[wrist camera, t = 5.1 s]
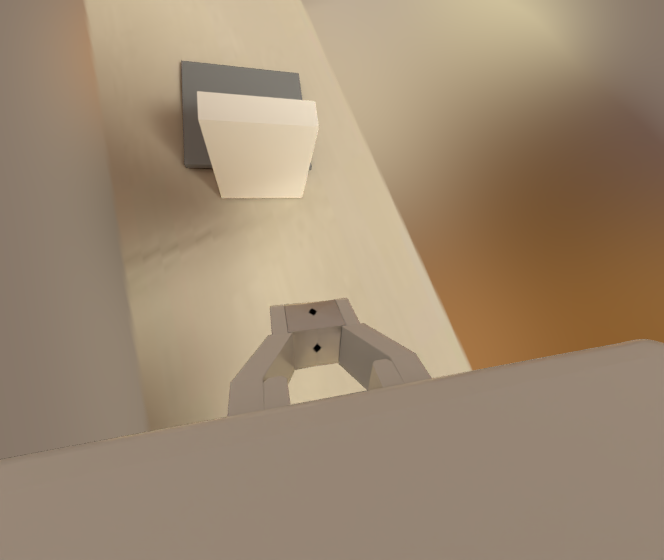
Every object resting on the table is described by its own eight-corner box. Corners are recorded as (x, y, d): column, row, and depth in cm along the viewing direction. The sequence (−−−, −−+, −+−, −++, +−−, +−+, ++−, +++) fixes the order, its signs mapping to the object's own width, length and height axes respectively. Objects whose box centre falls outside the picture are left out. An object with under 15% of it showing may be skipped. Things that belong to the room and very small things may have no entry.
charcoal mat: (310, 169, 34) (311, 166, 33) (186, 167, 30) (184, 164, 29) (298, 77, 36) (298, 73, 36) (182, 65, 33) (181, 60, 32)
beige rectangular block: (302, 197, 32) (319, 126, 22) (221, 198, 30) (198, 119, 20) (299, 176, 33) (314, 98, 23) (220, 175, 31) (196, 87, 20)
